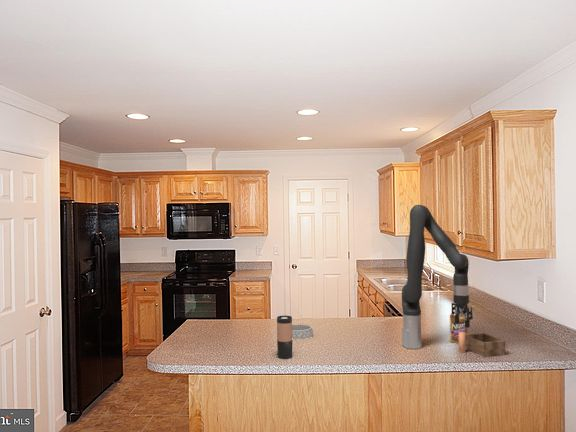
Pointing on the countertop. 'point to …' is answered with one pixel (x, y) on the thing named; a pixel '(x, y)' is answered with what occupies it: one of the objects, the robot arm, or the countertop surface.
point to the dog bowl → (301, 331)
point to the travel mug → (284, 337)
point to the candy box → (457, 328)
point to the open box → (485, 345)
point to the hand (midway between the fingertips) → (462, 325)
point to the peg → (462, 342)
